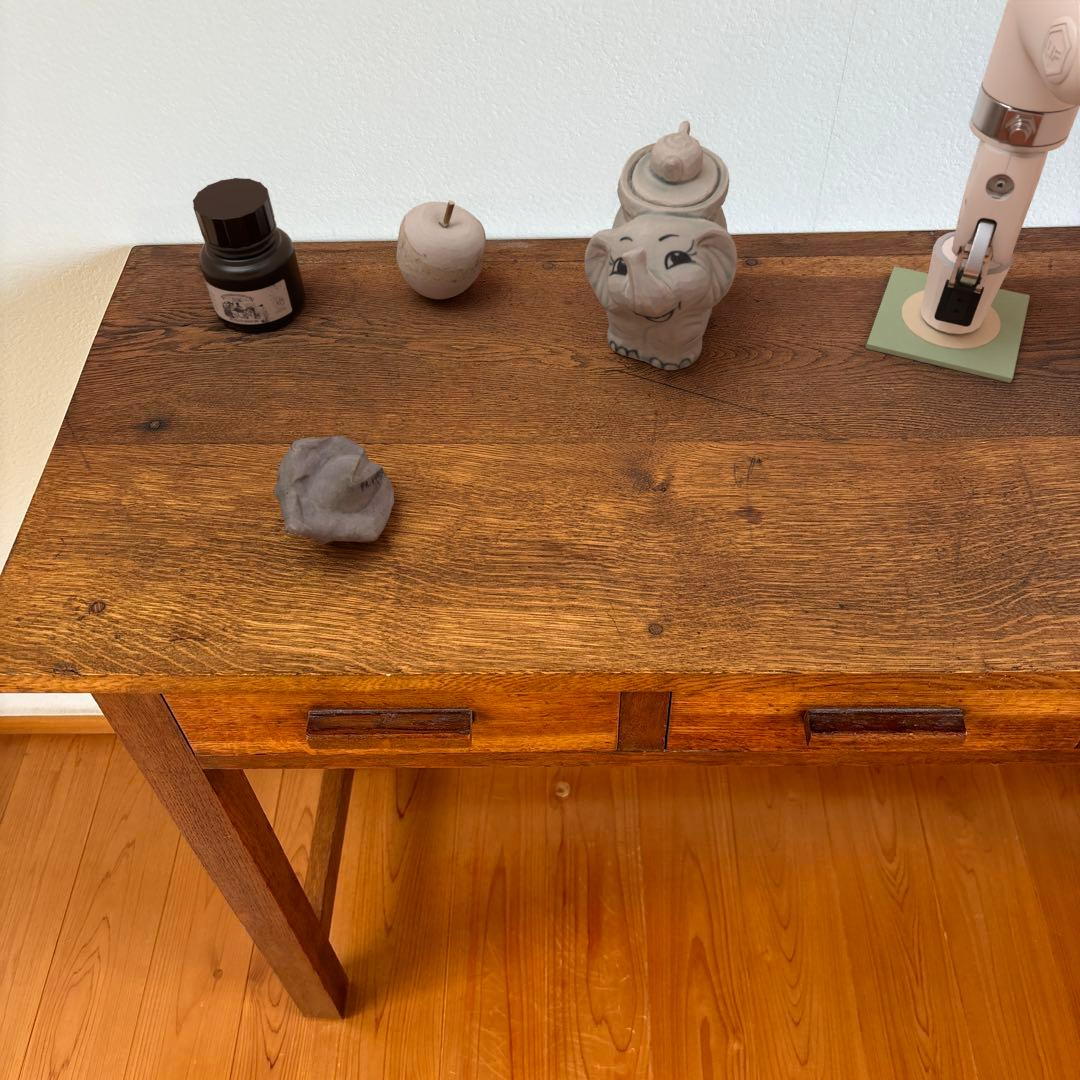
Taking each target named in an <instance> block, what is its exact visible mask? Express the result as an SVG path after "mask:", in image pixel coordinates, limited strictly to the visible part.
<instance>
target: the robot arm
mask: <svg viewBox="0 0 1080 1080" xmlns="http://www.w3.org/2000/svg"><path fill="white" fill-rule="evenodd" d="M983 74H984V75H983V78H982V82H981V84H980V87H979V90H978V94H977V97H976V99H975V103H974V106H973V109H972V112H971V116H970V119H969V121H968V123H969V124H968V125H969V129H970V130H971V132H972V133H973V136H975V137H976V138H977V139H978V140H979V142H978V145H977V148H976V151H975V155H974V156H973V157H974V158H973V161H972V164H971V167H970V169H969V173H968V177H967V181H966V185H965V189H964V192H963V196H962V199H961V204H960V208H959V211H958V212H959V213H958V217H957V222H956V226H955V230H954V232H955V236H954V241H953V246H952V251H953V253H954V254H955V256H957V254H958V256H957V259H956V262H955V265H954V268H953V271H952V274H951V277H950V280H946V283H945V286H944V289H943V292H942V295H941V298H940V301H939V303H938V306H937V309H936V312H935V316H934V318H935V319H936V320H938V321H943V322H947V323H952V324H956V325H961V326H965V327H968V326H970V325H971V323H972V320H973V317H974V315H975V312H976V309H977V307H978V304H979V301H980V299H981V296H982V293H983V291H984V287H982V286H983V284H984V281H985V278H986V275H987V272H988V269H989V266H990V263H991V262H992V257H993V261H994V263H996V264H1000V265H1001V266H1004V265H1006V264H1008V263H1009V262H1010V259H1011V256H1012V253H1013V254H1014V250H1015V247H1016V244H1017V241H1018V239H1019V236H1020V233H1021V231H1022V228H1023V225H1024V222H1025V219H1026V218H1027V215H1028V212H1029V210H1030V207H1031V204H1032V202H1033V200H1034V199H1033V198H1034V196H1035V193H1036V191H1037V188H1038V184H1039V182H1040V179H1041V176H1042V173H1043V171H1044V167H1045V165H1046V160H1047V158H1048V154H1049V152H1051V151H1052V152H1053V151H1054V150H1057V149H1059V148H1060V147H1062V146H1064V144H1065V143H1066V142H1067V140H1068V139H1069V135H1070V132H1071V130H1072V128H1073V125H1074V123H1075V121H1076V118H1077V115H1078V113H1079V110H1080V0H1007V1H1006V4H1005V8H1004V11H1003V14H1002V16H1001V20H1000V23H999V25H998V30H997V32H996V35H995V39H994V42H993V46H992V47H991V52H990V54H989V58H988V62H987V64H986V68H985V71H984V73H983ZM966 244H972V247H971V250H970V251H967V250H964V249H965V246H966ZM991 244H992V245H991ZM990 247H991V248H990ZM987 248H990V250H989V253H988V255H986V251H987ZM963 259H967V262H966V265H965V268H964V270H960V267H961V264H962V261H963ZM982 263H983V265H982ZM981 266H982V268H981ZM959 270H960V271H959ZM980 270H981V271H980Z"/></svg>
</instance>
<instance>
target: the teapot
mask: <svg viewBox="0 0 1080 1080" xmlns="http://www.w3.org/2000/svg"><path fill="white" fill-rule="evenodd" d="M690 133H691V123H690V121H689V120H683V121H682V122H680V124H679V127H678V131H677V132H673V133H669V134H666V135H663V136H661V137H660V138H659V139H658V140H657V141H656V142H654V143H651V144H648V145H645V146H643V147H641V148H639V149H637V150H636V151H634V152H633V153H632V154H631V155H630V156H629V157H628V158H627V160H626V162H625V164H624V165H623V167H622V170H621V173H620V176H619V180H618V182H617V189H616V193H617V197H618V201H619V204H620V206H619V208H618V210H617V213H616V214H615V217H614V220H613V224H612V226H611V228H606V229H602V230H599V231H597V232H595V233H594V234H592V236H591V237H590V239H589V241H588V243H587V245H586V248H585V252H584V271H585V275H586V278H587V280H588V283H589V285H590V286H591V288H592V290H593V292H594V294H595V296H596V298H597V300H598V301H599V303H600V305H601V306H602V308H603V309H605V310H606V318H607V322H608V328H607V333H606V339H607V342H608V346H609V347H610V348H611V350H612V351H613V352H615V353H616V354H618V355H621V356H623V357H628V358H632V359H635V360H638V361H641V362H645V363H647V364H650V365H652V366H653V367H655V368H658V369H662V370H666V371H677V370H681V369H683V368H687V367H689V366H691V365H692V364H693V363H695V362H696V361H697V360H698V358H699V357H700V355H701V353H702V349H703V336H704V334H705V333H706V330H707V326H708V323H709V319H710V318H711V316H712V312H713V308H715V306H717V305H718V304H719V303H720V302H721V301H722V300H723V298H724V297H725V296H726V295H727V294H728V293H729V291H730V289H731V287H732V285H733V283H734V279H735V276H736V272H737V267H738V252H737V245H736V242H735V240H734V239H733V237H732V235H731V234H730V232H729V231H728V223H727V218H726V216H725V212H724V210H723V207H722V206H723V205H724V204H725V202H726V198H727V196H728V193H729V188H730V172H729V169H728V166H727V165H726V163H725V162H724V160H723V159H722V157H720V156H719V155H717V154H716V153H715V152H713V151H712V150H711V149H709V148H707V147H705V146H702V145H701V144H700V142H699V140H698V139H697V138H695V137H694V136H692V135H691V134H690Z"/></svg>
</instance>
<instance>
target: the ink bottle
mask: <svg viewBox="0 0 1080 1080" xmlns="http://www.w3.org/2000/svg"><path fill="white" fill-rule="evenodd" d="M192 204H193V205H192V208H193V212H194V214H195V218H196V220H197V224H198V227H199V230H200V233H201V236H202V239H203V241H204V243H203V245H202V247H201V249H200V252H199V255H198V262H199V267H200V271H201V274H202V275H203V279H204V283H205V286H206V288H207V291H208V294H209V297H210V300H211V301H210V302H211V303H212V306H213V309H214V312H215V314H216V316H217V318H218V320H219V321H220V322H221V323H222V324H224V325H225V326H227V327H229V328H231V329H235V330H239V331H244V332H263V331H270V330H274V329H277V328H280V327H282V326H283V325H284V326H285V324H288V323H289V322H290V321H292V320H293V319H294V318H295V317H297V315H298V314H299V313H300V312H301V311H302V309H303V308H304V304H305V302H306V291H305V286H304V282H303V279H302V274H301V270H300V265H299V262H298V258H297V253H296V250H295V246H294V243H293V241H292V239H291V237H290V235H289V234H288V233H287V232H285V230H283V229H281V228H280V227H277V221H276V219H275V218H276V217H275V213H274V210H273V207H272V206H273V205H272V201H271V197H270V194H269V189H268V188H267V187H266V186H265V185H264V184H263V183H262V182H261V181H257V180H255V179H251V178H243V177H242V178H241V177H233V178H228V179H220V180H218V181H216V182H213V183H210V184H207V185H206V186H205V187H204V188H202V189H200V190H199V191H198V192H196V195H195V197H194V198H193V199H192Z"/></svg>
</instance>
